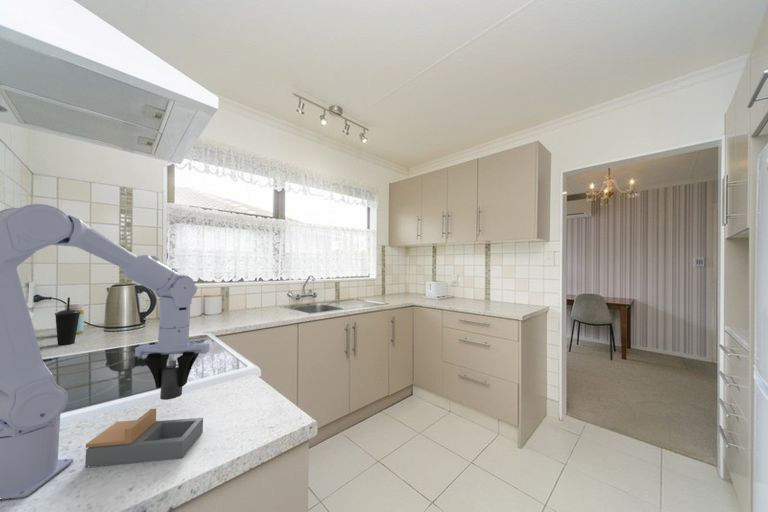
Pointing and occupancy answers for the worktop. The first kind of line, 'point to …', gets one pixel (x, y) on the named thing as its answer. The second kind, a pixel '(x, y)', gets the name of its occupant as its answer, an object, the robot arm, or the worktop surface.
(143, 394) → the worktop surface
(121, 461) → the socket block
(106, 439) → the tan l-shaped bracket
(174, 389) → the plug
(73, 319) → the drinking cup
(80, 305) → the bottle
